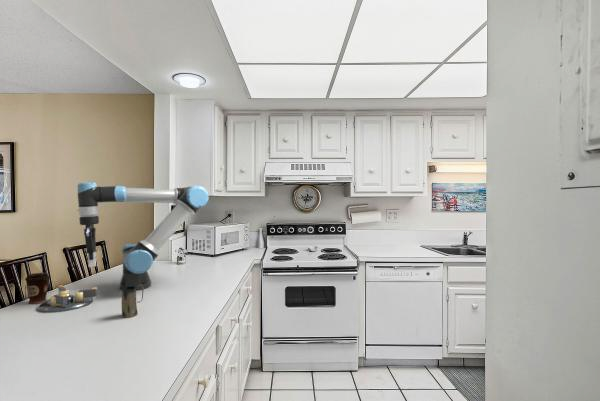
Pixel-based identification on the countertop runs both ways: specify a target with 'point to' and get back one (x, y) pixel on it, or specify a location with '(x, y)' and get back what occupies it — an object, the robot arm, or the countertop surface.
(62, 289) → the knob
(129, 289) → the mug
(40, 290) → the coffee cup
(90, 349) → the countertop surface
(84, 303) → the candle tray
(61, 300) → the knob
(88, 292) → the knob
